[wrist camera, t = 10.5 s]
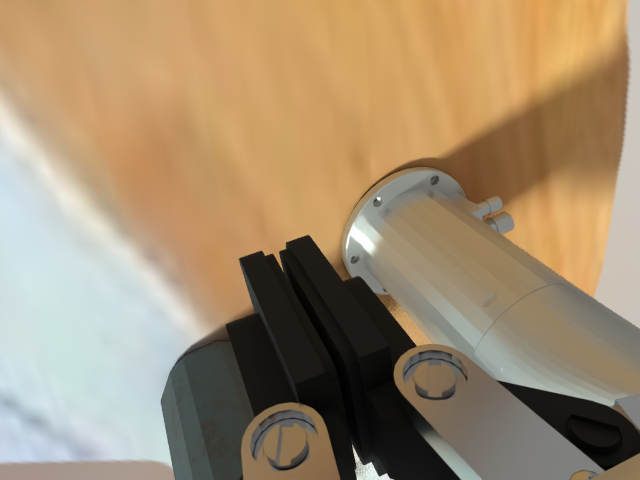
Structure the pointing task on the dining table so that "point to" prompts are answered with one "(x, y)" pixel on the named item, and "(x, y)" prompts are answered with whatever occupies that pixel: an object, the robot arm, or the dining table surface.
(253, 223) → the dining table surface
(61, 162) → the dining table surface
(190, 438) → the bottle
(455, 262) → the robot arm
